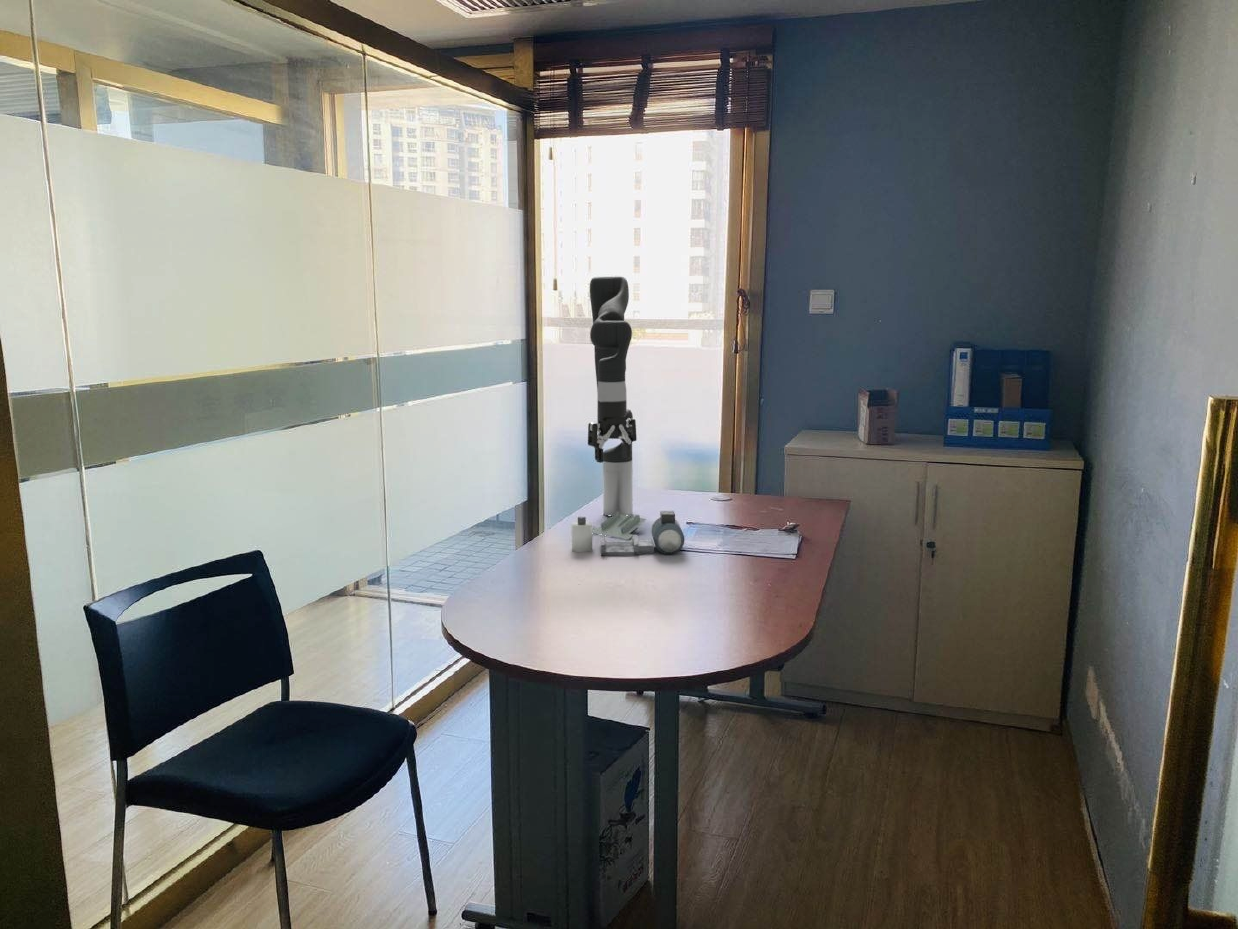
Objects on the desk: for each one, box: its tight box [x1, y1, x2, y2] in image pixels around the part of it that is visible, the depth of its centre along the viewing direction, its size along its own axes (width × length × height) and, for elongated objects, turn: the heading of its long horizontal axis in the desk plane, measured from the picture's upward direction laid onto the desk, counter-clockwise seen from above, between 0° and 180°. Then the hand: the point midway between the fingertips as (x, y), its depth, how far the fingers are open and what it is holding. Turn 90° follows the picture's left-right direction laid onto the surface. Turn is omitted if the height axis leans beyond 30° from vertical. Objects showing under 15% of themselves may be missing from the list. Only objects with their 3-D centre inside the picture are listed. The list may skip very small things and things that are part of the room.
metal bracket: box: [592, 512, 647, 541], centre depth 258 cm, size 14×6×15 cm
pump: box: [570, 516, 594, 553], centre depth 240 cm, size 6×6×9 cm
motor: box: [600, 510, 686, 557], centre depth 238 cm, size 11×22×10 cm, turn 92°
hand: (612, 460), depth 233 cm, fingers open, 8 cm apart
